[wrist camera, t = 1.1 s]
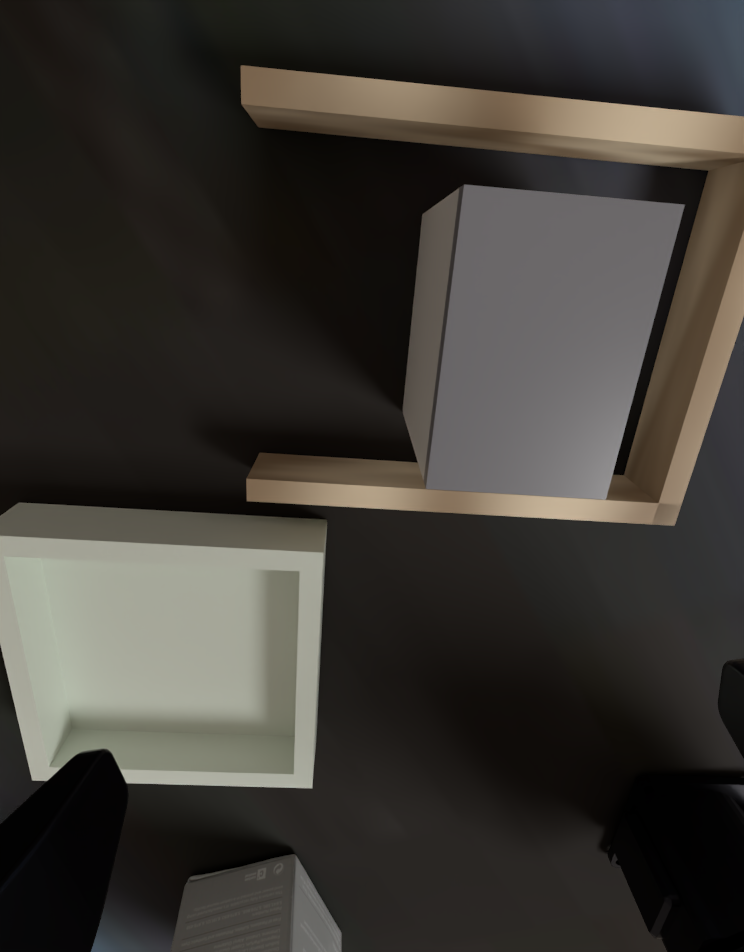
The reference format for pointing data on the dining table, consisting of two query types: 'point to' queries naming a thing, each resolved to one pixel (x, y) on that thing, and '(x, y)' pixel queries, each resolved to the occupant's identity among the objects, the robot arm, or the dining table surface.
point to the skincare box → (255, 911)
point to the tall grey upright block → (531, 337)
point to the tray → (164, 641)
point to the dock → (557, 134)
